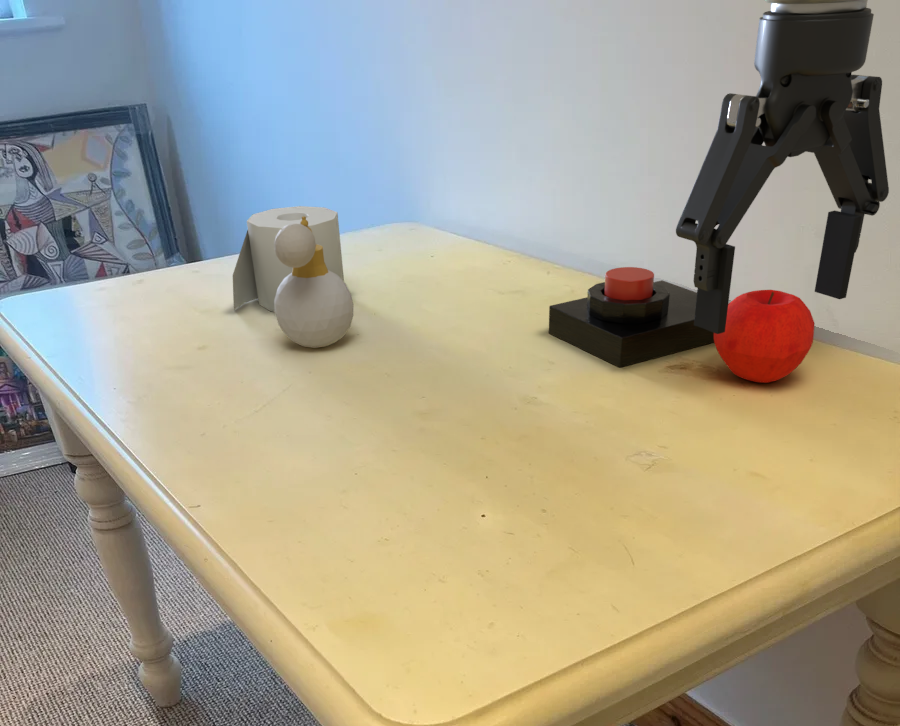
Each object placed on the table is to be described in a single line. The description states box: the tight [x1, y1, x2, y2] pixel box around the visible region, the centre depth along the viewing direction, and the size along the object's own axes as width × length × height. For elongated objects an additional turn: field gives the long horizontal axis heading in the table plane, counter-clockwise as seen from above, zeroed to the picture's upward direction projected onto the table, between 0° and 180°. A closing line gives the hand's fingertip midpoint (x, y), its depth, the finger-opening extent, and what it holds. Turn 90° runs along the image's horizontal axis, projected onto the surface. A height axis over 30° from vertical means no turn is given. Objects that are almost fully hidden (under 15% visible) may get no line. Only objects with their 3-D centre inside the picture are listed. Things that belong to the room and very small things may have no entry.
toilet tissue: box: [232, 205, 345, 312], centre depth 99 cm, size 9×13×9 cm
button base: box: [548, 280, 714, 368], centre depth 88 cm, size 14×11×4 cm
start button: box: [604, 266, 655, 300], centre depth 86 cm, size 4×4×2 cm
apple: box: [713, 289, 815, 384], centre depth 78 cm, size 8×8×7 cm
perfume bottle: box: [273, 216, 354, 349], centre depth 86 cm, size 8×10×12 cm
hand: (771, 311), depth 77 cm, fingers open, 13 cm apart
